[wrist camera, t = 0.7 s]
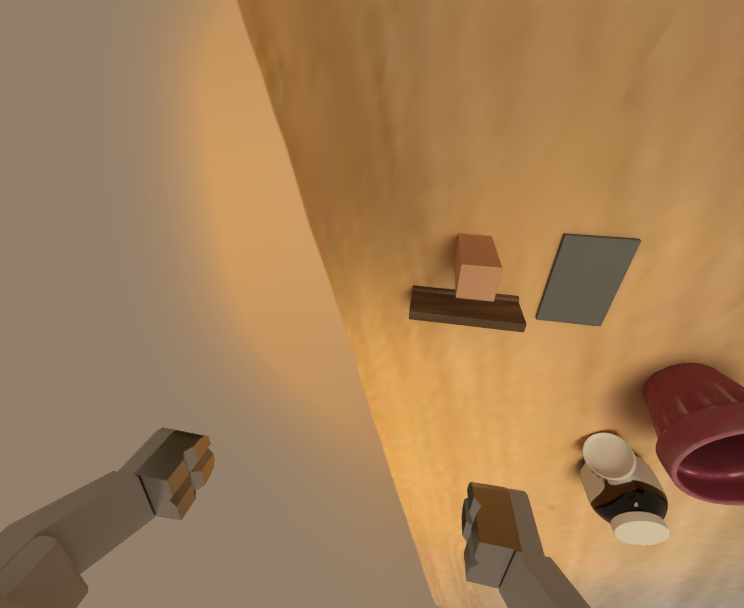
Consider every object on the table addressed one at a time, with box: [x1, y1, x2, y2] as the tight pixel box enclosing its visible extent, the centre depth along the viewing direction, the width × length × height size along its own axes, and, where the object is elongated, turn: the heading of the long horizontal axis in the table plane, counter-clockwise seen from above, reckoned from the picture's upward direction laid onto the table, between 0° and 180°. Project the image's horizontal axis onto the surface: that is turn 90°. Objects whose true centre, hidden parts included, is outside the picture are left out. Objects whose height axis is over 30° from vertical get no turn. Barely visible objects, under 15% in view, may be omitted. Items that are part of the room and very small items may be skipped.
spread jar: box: [580, 432, 670, 545], centre depth 52 cm, size 12×11×12 cm
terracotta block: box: [454, 234, 502, 302], centre depth 38 cm, size 4×4×9 cm
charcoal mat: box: [536, 233, 641, 326], centre depth 41 cm, size 12×8×1 cm, turn 0°
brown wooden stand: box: [409, 286, 526, 332], centre depth 44 cm, size 5×14×6 cm, turn 90°
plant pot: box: [644, 364, 744, 505], centre depth 41 cm, size 14×14×13 cm
